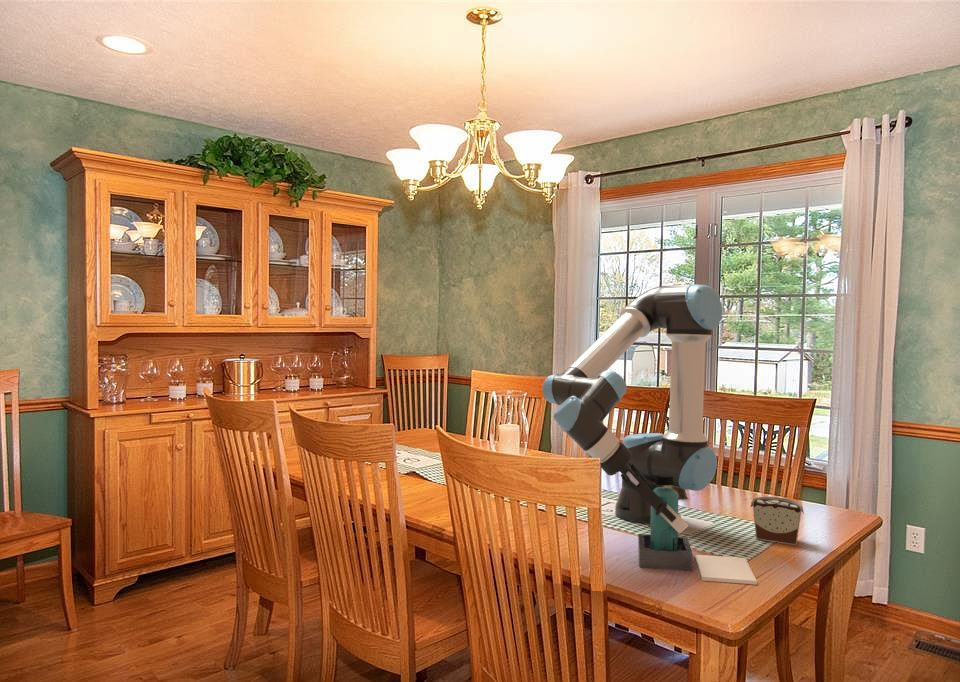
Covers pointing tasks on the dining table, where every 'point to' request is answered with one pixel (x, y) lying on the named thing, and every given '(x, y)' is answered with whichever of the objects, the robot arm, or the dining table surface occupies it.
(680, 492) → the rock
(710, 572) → the coaster pad
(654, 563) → the bottle holder
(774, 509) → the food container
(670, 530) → the beverage bottle
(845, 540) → the dining table surface
